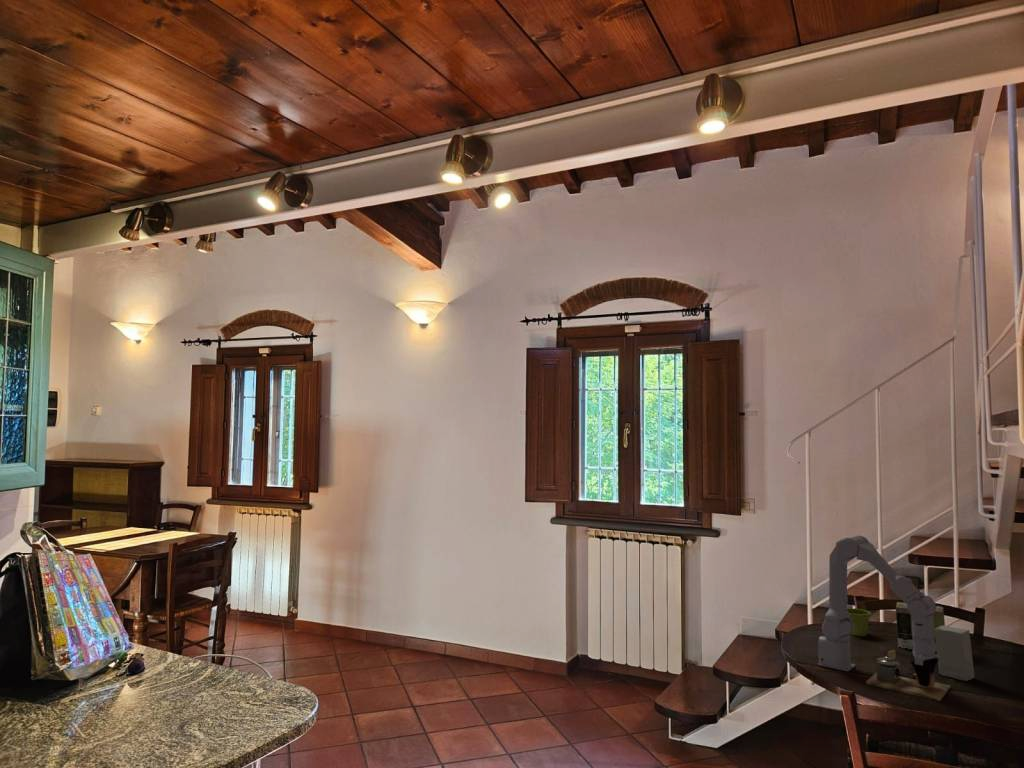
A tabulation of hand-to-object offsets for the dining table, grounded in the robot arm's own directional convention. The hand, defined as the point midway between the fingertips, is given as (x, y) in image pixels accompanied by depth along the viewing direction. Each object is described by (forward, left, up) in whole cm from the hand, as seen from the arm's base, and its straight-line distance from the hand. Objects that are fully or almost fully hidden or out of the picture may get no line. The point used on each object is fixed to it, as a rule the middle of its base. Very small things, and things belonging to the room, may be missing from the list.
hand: (925, 683), depth 200 cm
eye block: (-10, 0, -2) cm, 10 cm away
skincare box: (+4, +20, -2) cm, 20 cm away
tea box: (-11, +46, -2) cm, 47 cm away
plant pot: (-33, +48, -2) cm, 58 cm away
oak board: (-5, 0, -2) cm, 5 cm away
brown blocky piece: (-4, 0, 0) cm, 4 cm away
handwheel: (-10, +1, +4) cm, 11 cm away
